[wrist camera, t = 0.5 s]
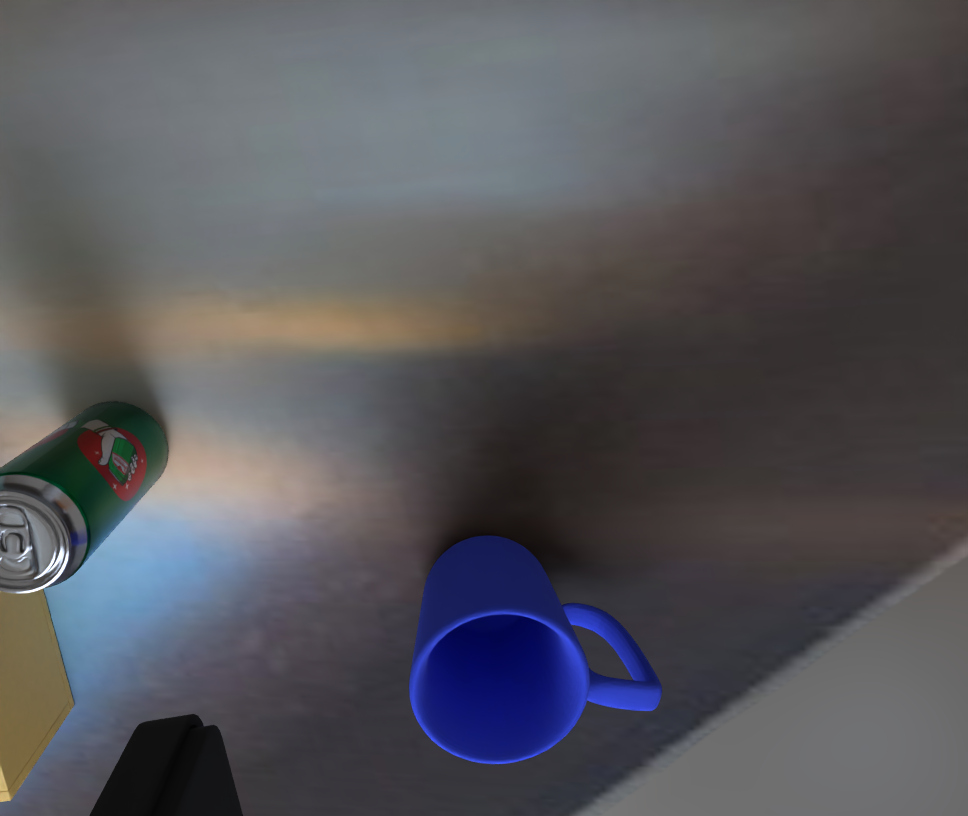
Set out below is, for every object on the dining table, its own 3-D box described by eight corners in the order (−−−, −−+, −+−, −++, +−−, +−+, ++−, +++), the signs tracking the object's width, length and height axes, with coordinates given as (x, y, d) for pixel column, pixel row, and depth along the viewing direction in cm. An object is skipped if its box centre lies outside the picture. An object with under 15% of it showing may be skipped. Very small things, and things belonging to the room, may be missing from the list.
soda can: (74, 487, 43) (-53, 600, 32) (69, 395, 42) (-66, 478, 30) (173, 492, 44) (82, 605, 32) (170, 401, 42) (75, 485, 31)
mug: (601, 666, 49) (645, 787, 39) (400, 635, 47) (393, 753, 37) (637, 540, 46) (692, 636, 37) (427, 505, 45) (428, 594, 35)
